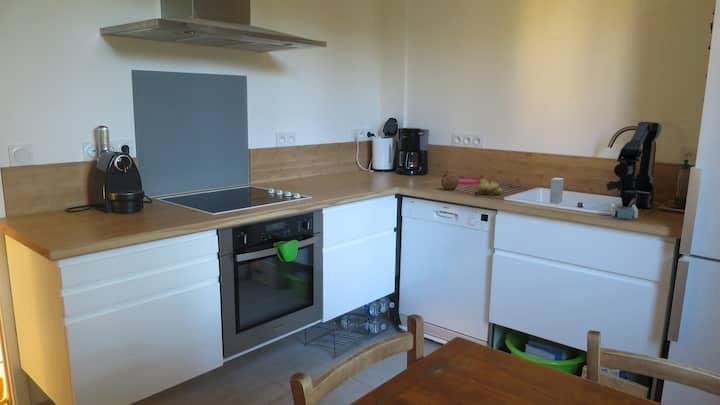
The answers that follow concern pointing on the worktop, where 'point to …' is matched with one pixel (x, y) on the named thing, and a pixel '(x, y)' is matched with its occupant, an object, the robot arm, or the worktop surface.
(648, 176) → the robot arm
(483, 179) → the green grapes
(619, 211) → the teal block
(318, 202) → the worktop surface
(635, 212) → the channel
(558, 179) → the skincare box
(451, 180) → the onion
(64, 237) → the worktop surface
